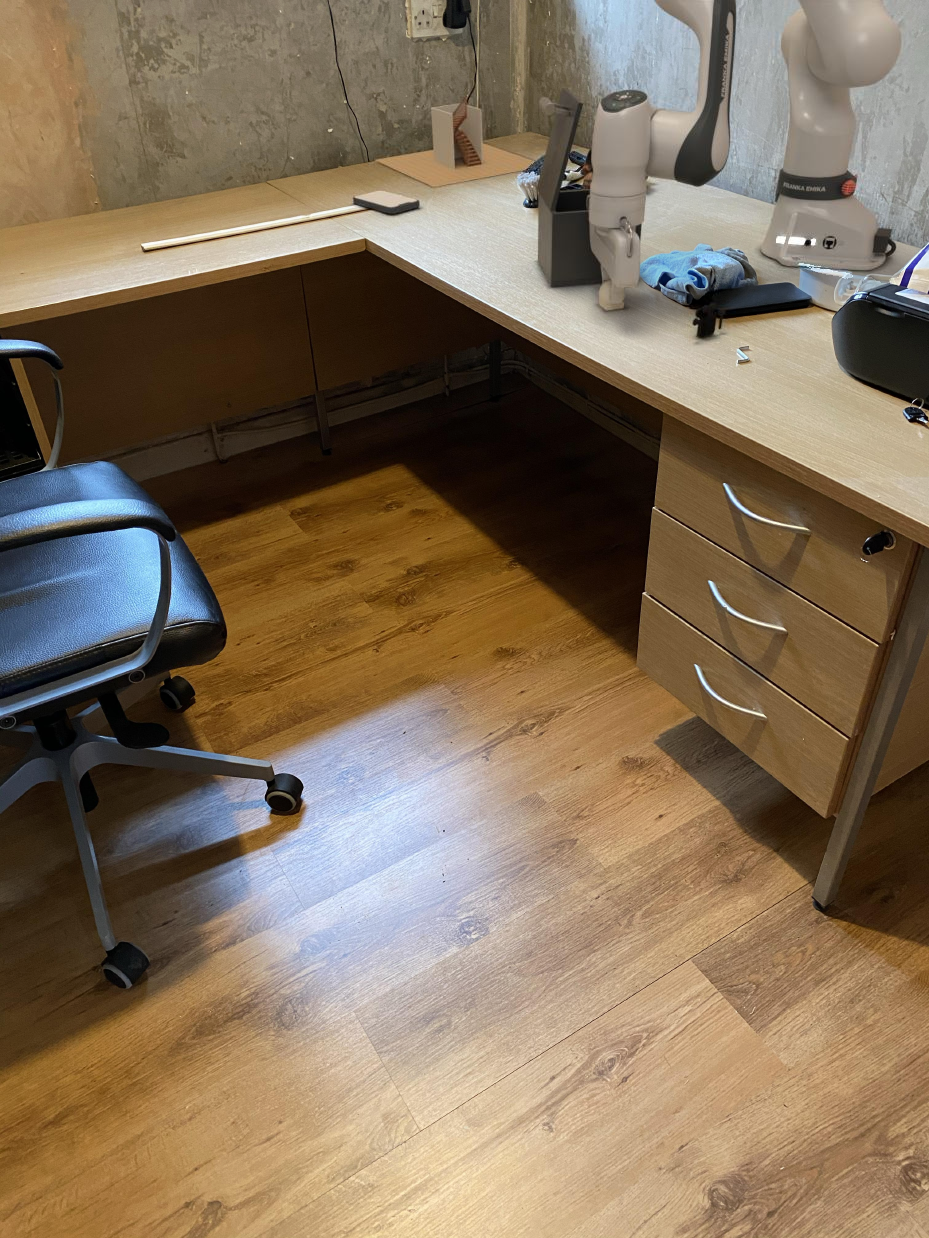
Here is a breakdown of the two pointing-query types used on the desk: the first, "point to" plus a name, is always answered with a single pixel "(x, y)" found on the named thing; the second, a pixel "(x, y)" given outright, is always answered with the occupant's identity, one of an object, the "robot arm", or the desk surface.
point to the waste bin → (568, 241)
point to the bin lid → (558, 144)
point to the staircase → (456, 150)
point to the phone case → (386, 202)
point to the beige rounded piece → (605, 295)
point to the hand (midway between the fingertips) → (611, 296)
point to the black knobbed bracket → (707, 320)
